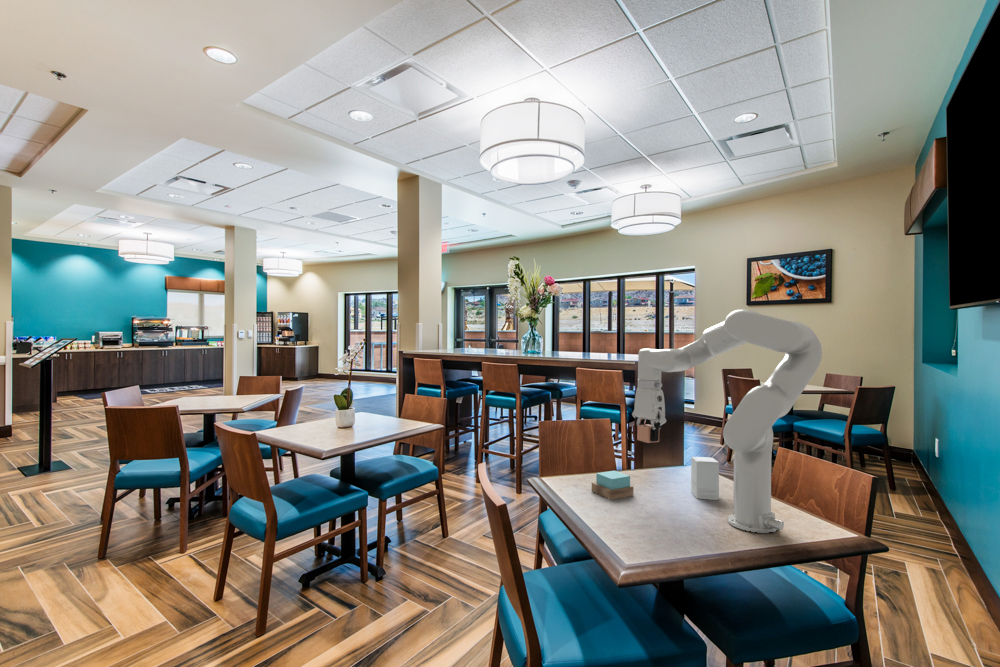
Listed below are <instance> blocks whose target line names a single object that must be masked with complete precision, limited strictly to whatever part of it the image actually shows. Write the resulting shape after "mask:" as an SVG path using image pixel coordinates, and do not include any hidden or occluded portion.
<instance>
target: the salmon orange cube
mask: <svg viewBox="0 0 1000 667" xmlns="http://www.w3.org/2000/svg"><path fill="white" fill-rule="evenodd" d="M636 427H637V433H636V434H637V435H636V437H637V438H636V440H637V441H640V442H643V443H647V444H650V443H651V444H652V443H659V442H660V439H659V440H658V441H653V442H652V441H650V430H651V429H652V426H651V424H646V423H645V425H637V424H636Z"/></svg>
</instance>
